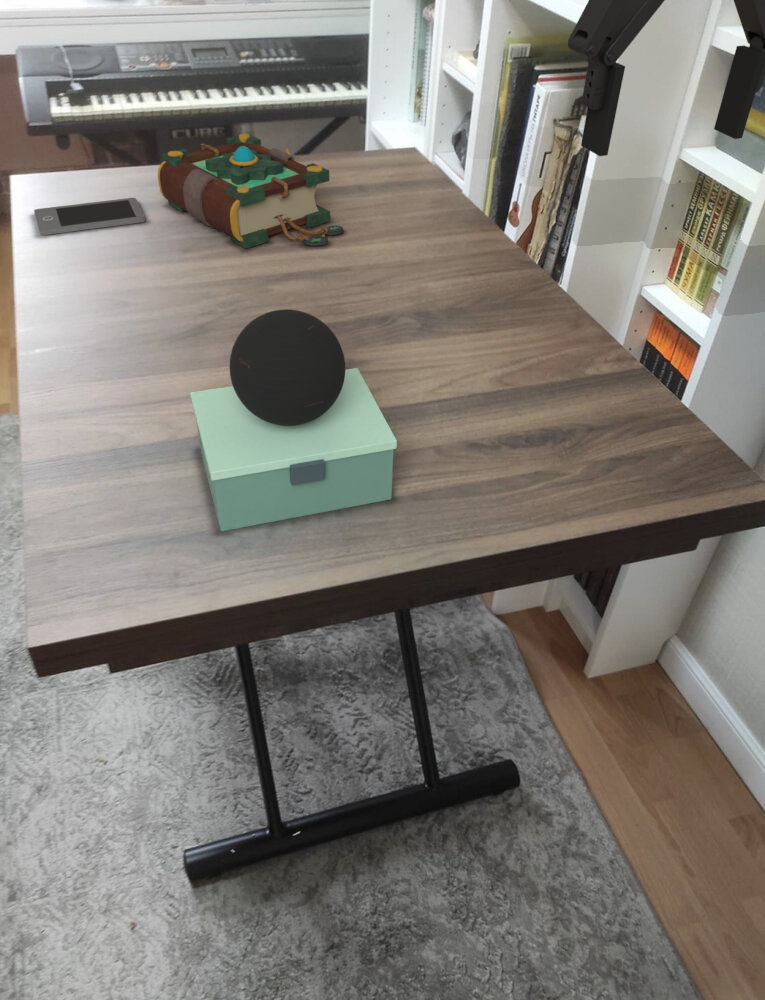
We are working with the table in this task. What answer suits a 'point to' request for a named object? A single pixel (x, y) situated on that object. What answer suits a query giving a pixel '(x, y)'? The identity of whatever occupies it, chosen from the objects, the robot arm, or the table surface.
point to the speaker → (287, 367)
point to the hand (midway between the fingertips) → (662, 142)
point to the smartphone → (88, 216)
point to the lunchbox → (293, 457)
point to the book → (246, 190)
